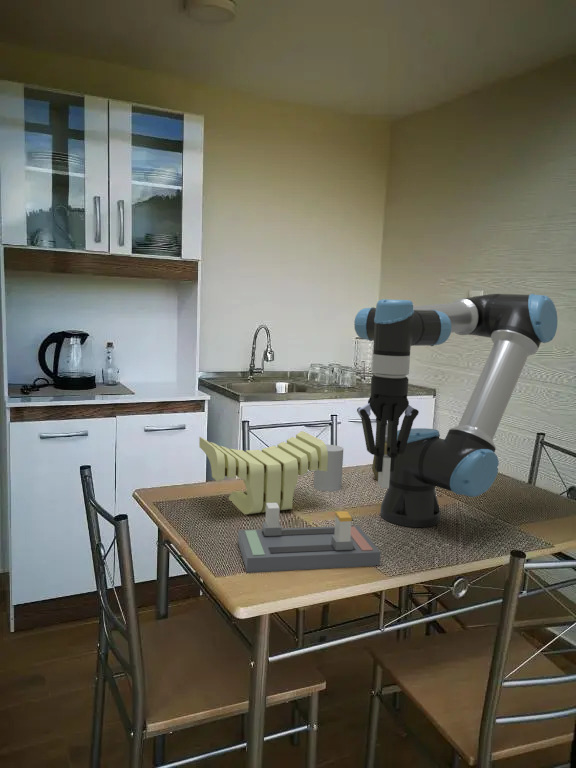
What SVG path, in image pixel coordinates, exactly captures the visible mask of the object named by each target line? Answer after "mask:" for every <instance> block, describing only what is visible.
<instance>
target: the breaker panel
mask: <svg viewBox="0 0 576 768" xmlns="http://www.w3.org/2000/svg"><path fill="white" fill-rule="evenodd" d="M280 511H281V510H280V508H279V506H278V504H277V503H266V512H265V521H262V526H261V527H262V528H257V529H256V528H254V529H251V528H250V529H238V533H237V534H238V536H237V539H238V540H237V543H238V546H239V550H240V555H241V557H242V561H243V564H244V568H245V571H246V573H261V572H263V573H266V572H281V571H282V572H283V571H300V570H301V571H305V570H307V571H308V570H321V569H324V570H325V569H327V570H328V569H340V568H341V569H342V568H346V569H347V568H362V567H363V566H366V567H377V566H376V565H380V566H381V555H382V552H381V550H380V549H379V548H378V547H377V545H375V544H374V543H373V540H371V539H370V537H369V536H368V535H367V533H365V531H364V530H363V529H362V528H361V527H360V526H359V525H351V537H350V538H351V539H352V541H353V550H335V548H334V547H333V545H332V544H331V539H332V535H334V533H335V525H334V526H310V527H308V526H306V527H286V528H285V527H282V526H281V524H280V513H281V512H280ZM361 566H362V567H361ZM363 568H364V567H363Z"/></svg>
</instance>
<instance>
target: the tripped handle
mask: <svg viewBox="0 0 576 768" xmlns="http://www.w3.org/2000/svg"><path fill="white" fill-rule="evenodd" d="M352 519H353V518H352V516H351V515H350V514H349V512H348V511H344V510H343V511H334V526H335V533H334V535H332V539H331V544H332V545H333V547H334V548H335V550H353V541H352V539H351V538H350V537H351V526H352V521H353V520H352Z"/></svg>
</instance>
